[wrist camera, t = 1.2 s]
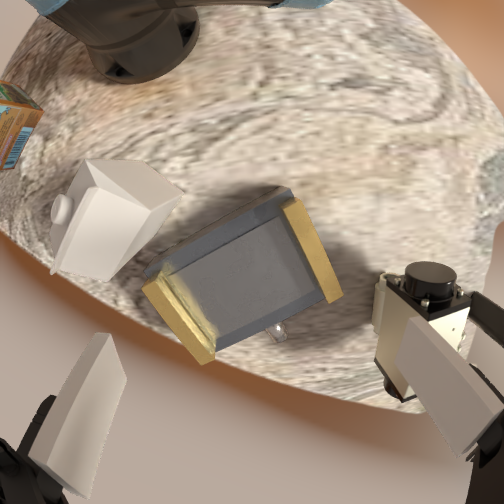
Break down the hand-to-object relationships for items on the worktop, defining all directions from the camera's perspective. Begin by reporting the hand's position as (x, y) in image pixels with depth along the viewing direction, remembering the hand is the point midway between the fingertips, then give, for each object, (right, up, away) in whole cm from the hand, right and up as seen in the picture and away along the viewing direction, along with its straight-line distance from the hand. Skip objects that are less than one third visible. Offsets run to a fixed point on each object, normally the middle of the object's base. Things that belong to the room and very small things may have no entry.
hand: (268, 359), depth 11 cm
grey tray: (-1, +1, +26) cm, 26 cm away
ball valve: (+20, -3, +29) cm, 36 cm away
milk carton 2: (-14, +11, +22) cm, 28 cm away
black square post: (+47, -7, +32) cm, 58 cm away
